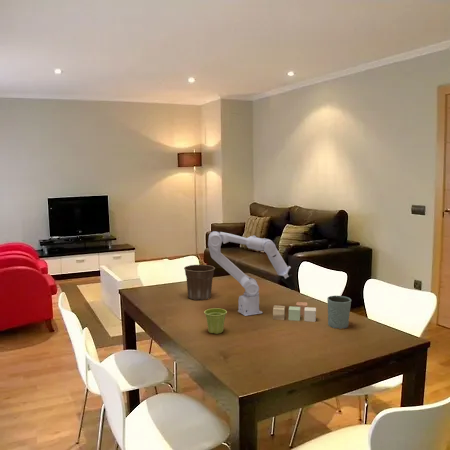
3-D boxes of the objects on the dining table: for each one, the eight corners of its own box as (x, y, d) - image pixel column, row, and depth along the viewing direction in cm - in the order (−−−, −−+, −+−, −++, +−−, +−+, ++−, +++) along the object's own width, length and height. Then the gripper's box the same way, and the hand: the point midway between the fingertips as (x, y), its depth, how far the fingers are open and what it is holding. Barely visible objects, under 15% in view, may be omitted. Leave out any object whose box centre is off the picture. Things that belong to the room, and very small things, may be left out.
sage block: (299, 321, 207) (299, 310, 206) (288, 320, 208) (288, 309, 207) (300, 317, 211) (300, 306, 211) (289, 316, 212) (289, 306, 212)
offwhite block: (315, 321, 205) (315, 311, 205) (304, 321, 206) (304, 310, 206) (315, 318, 210) (315, 307, 209) (304, 317, 211) (304, 307, 210)
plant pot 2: (210, 337, 187) (210, 316, 186) (200, 329, 195) (200, 310, 194) (230, 333, 191) (230, 313, 190) (220, 326, 200) (220, 307, 199)
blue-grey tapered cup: (334, 320, 207) (335, 294, 206) (355, 325, 200) (355, 298, 199) (322, 325, 200) (322, 298, 199) (342, 331, 193) (343, 303, 192)
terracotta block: (306, 316, 213) (307, 305, 213) (296, 315, 214) (296, 305, 214) (307, 312, 218) (307, 302, 218) (296, 312, 219) (296, 302, 219)
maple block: (284, 320, 208) (284, 309, 207) (272, 319, 209) (273, 308, 208) (284, 316, 213) (284, 306, 212) (274, 316, 214) (274, 305, 213)
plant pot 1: (220, 295, 248) (220, 266, 246) (203, 303, 234) (203, 272, 232) (196, 291, 256) (196, 263, 254) (178, 298, 243) (177, 268, 241)
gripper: (287, 261, 209) (302, 286, 211) (283, 255, 223) (297, 278, 225) (274, 269, 209) (289, 294, 211) (270, 262, 224) (284, 286, 225)
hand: (292, 286), depth 218 cm, fingers open, 7 cm apart
